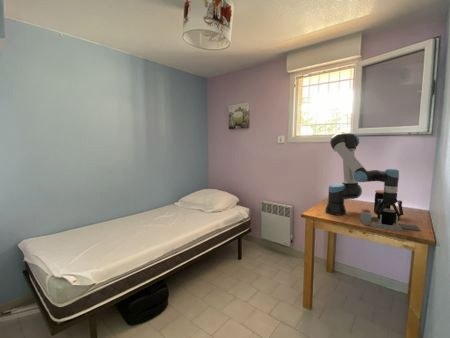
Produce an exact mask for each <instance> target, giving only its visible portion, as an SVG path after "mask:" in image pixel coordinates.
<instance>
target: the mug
mask: <svg viewBox="0 0 450 338" xmlns="http://www.w3.org/2000/svg"><path fill="white" fill-rule="evenodd" d="M381 215H382V219H381V224H385V225H393V226H394V225H395V224H394V221H395V217H396V215H397V214H396V212H395V210H394V209H392V208H390V209H386V208H384V210H383V211H382V213H381Z"/></svg>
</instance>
